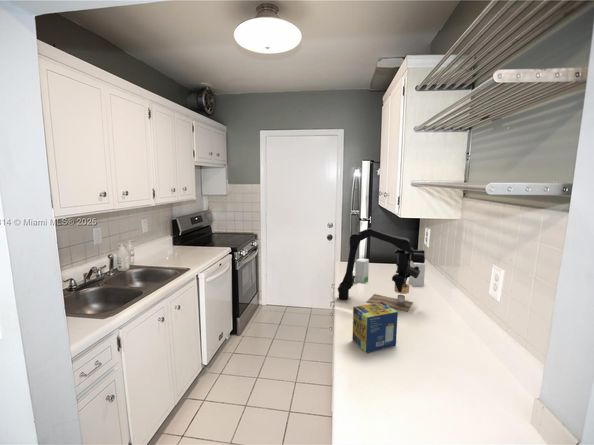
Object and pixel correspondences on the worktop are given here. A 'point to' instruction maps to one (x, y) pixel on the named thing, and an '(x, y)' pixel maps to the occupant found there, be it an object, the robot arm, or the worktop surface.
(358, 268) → the skincare box
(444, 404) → the worktop surface
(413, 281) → the milk carton
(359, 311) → the protein box
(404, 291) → the wooden ring
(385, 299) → the post board
